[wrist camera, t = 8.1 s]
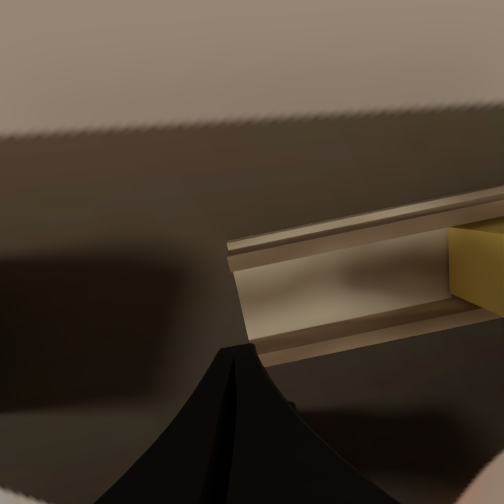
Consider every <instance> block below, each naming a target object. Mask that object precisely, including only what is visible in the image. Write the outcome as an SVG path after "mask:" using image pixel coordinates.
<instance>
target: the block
mask: <svg viewBox="0 0 504 504" xmlns="http://www.w3.org/2000/svg"><path fill="white" fill-rule="evenodd" d="M448 248H449V284H450V293H451V294H453V295H455V296H457V297H460V298H462V299H464V300H466V301H469V302H471V303H473V304H475V305H478V306H480V307H482V308H484V309H487V310H489V311H491V312H493V313H495V314H498V315H500V316H502V317H504V216H500V217H495V218H490V219H485V220H481V221H476V222H471V223H466V224H461V225H457V226H452V227H448Z"/></svg>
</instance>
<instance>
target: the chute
mask: <svg viewBox="0 0 504 504" xmlns="http://www.w3.org/2000/svg"><path fill="white" fill-rule="evenodd" d="M500 216H504V184H500V185H495V186H490V187H485V188H480V189H476V190H471V191H466V192H461V193H456V194H451V195H447V196H442V197H437V198H432V199H427V200H422V201H418V202H413V203H408V204H403V205H398V206H393V207H389V208H384V209H379V210H374V211H369V212H364V213H360V214H355V215H350V216H345V217H340V218H335V219H331V220H326V221H321V222H316V223H311V224H306V225H302V226H297V227H292V228H287V229H282V230H277V231H273V232H268V233H263V234H258V235H253V236H248V237H244V238H239V239H234V240H229V241H227V246H228V255H227V259H228V263H229V268H230V272H234V276H235V281H236V285H237V290H238V294H239V298H240V303H241V307H242V312H243V316H244V321H245V325H246V329H247V334H248V338H249V343H253V344H254V345H255V347H256V351H257V354H258V356H259V359H260V361H261V363H262V365H263V366H264V367H268V366H272V365H277V364H282V363H287V362H292V361H296V360H301V359H306V358H311V357H315V356H320V355H325V354H330V353H335V352H339V351H344V350H349V349H354V348H358V347H363V346H368V345H373V344H378V343H382V342H387V341H392V340H397V339H401V338H406V337H411V336H416V335H421V334H425V333H430V332H435V331H440V330H444V329H449V328H454V327H459V326H464V325H468V324H473V323H478V322H483V321H487V320H492V319H497V318H502V316H500V315H498V314H495V313H493V312H491V311H489V310H487V309H484V308H482V307H480V306H478V305H475V304H473V303H471V302H469V301H466V300H464V299H462V298H460V297H457V296H455V295H453V294H451V293H450V284H449V248H448V227H452V226H457V225H461V224H466V223H471V222H476V221H481V220H485V219H490V218H495V217H500Z"/></svg>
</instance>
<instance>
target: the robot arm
mask: <svg viewBox="0 0 504 504" xmlns="http://www.w3.org/2000/svg"><path fill="white" fill-rule="evenodd" d="M94 504H401V503H399V502H398V501H397V500H395V499H394V498H393V497H391V496H390V495H388V494H387V493H386V492H384V491H383V490H382V489H381V488H379V487H378V486H377V485H375V484H374V483H373V482H372V481H370V480H369V479H368V478H367V477H365V476H364V475H363V474H361V473H360V472H359V471H358V470H357V469H356V468H354V467H353V466H352V465H351V464H350V463H348V462H347V461H346V460H345V459H344V458H342V457H341V456H340V455H339V454H338V453H337V452H336V451H335V450H334V449H333V448H332V447H331V446H329V445H328V444H327V443H326V442H325V441H324V440H323V439H322V438H321V437H320V436H319V435H318V434H317V433H316V432H315V431H314V430H313V429H312V428H311V427H310V426H309V425H308V424H307V423H306V422H305V421H304V420H303V419H302V418H301V417H300V416H299V414H298V413H297V412H296V411H295V410H294V409H293V408H292V406H291V405H290V404H289V403H288V401H287V400H286V399H285V398H284V396H283V395H282V394H281V392H280V391H279V390H278V388H277V387H276V386H275V384H274V383H273V381H272V380H271V378H270V376H269V375H268V373H267V371H266V370H265V368H264V366H263V365H262V363H261V361H260V359H259V356H258V354H257V351H256V347H255V345H254V344H253V343H248V344H243V345H237V346H232V347H227V348H221V349H220V350H219V351H218V353H217V354H216V356H215V358H214V360H213V361H212V363H211V365H210V366H209V368H208V370H207V371H206V373H205V375H204V376H203V378H202V379H201V381H200V383H199V384H198V386H197V387H196V389H195V390H194V392H193V393H192V395H191V396H190V398H189V399H188V400H187V402H186V403H185V405H184V406H183V407H182V409H181V410H180V412H179V413H178V414H177V416H176V417H175V418H174V419H173V421H172V422H171V423H170V425H169V426H168V427H167V428H166V429H165V431H164V432H163V433H162V434H161V435H160V436H159V438H158V439H157V440H156V441H155V442H154V443H153V444H152V446H151V447H150V448H149V449H148V450H147V451H146V452H145V453H144V454H143V455H142V456H141V457H140V458H139V459H138V460H137V461H136V462H135V463H134V464H133V466H132V467H131V468H130V469H129V470H128V471H127V472H126V473H125V474H124V475H123V476H122V477H121V478H120V479H119V480H118V481H117V482H116V483H115V484H114V485H113V486H112V487H111V488H110V489H109V490H108V491H106V492H105V493H104V494H103V495H102V496H101V497H100V498H99V499H98V500H97V501H96V502H95V503H94Z"/></svg>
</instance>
